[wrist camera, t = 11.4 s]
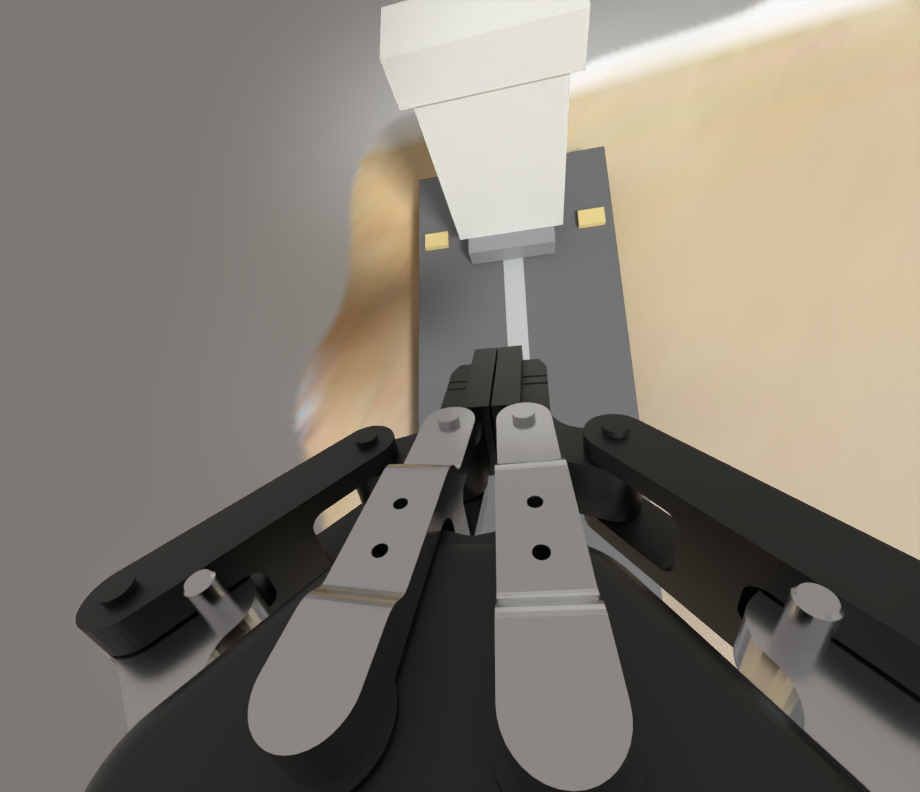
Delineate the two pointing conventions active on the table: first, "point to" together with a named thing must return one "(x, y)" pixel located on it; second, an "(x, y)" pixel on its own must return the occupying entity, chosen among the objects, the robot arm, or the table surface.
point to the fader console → (533, 312)
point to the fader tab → (491, 109)
